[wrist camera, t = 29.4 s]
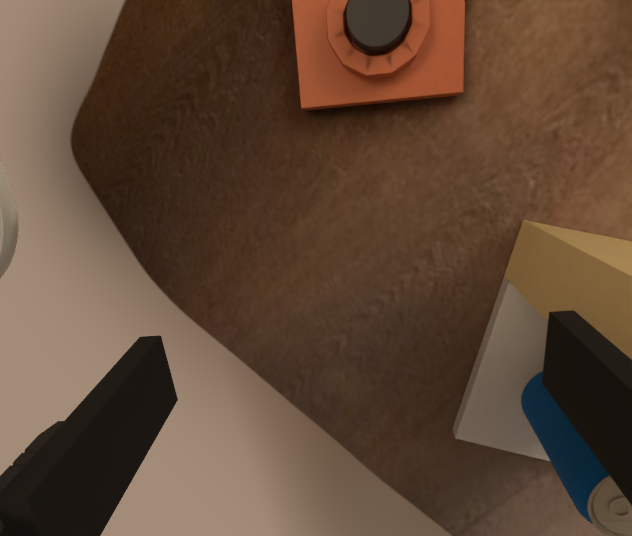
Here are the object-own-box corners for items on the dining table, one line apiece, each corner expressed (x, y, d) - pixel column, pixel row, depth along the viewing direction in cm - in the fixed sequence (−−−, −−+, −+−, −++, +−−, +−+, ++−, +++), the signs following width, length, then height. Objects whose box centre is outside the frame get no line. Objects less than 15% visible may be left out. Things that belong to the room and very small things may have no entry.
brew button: (349, 55, 29) (347, 50, 27) (346, -10, 28) (344, -19, 26) (407, 48, 28) (409, 43, 27) (406, -18, 27) (408, -29, 26)
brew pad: (305, 110, 34) (296, 106, 30) (293, -31, 31) (282, -55, 27) (457, 95, 32) (468, 89, 28) (459, -56, 29) (472, -86, 26)
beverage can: (605, 415, 36) (709, 540, 25) (528, 432, 38) (594, 557, 26) (588, 352, 35) (691, 453, 24) (509, 372, 36) (570, 476, 25)
